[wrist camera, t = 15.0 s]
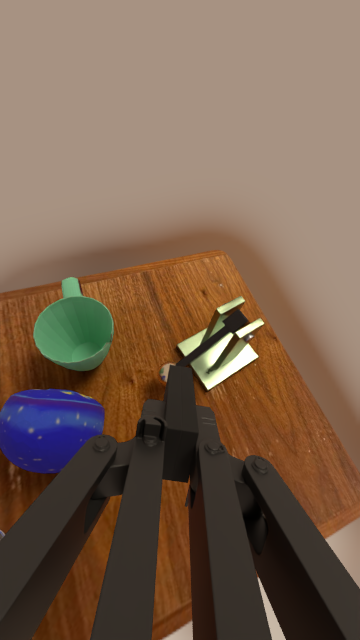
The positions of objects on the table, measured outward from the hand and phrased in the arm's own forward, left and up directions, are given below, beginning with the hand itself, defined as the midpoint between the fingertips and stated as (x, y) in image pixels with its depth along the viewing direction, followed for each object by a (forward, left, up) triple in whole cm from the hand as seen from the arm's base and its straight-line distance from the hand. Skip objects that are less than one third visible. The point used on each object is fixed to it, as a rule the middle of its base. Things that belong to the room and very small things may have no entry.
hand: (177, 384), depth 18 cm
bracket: (+12, -10, -24) cm, 29 cm away
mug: (+14, +12, -24) cm, 30 cm away
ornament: (0, +13, -24) cm, 27 cm away
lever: (+10, -7, -18) cm, 22 cm away
